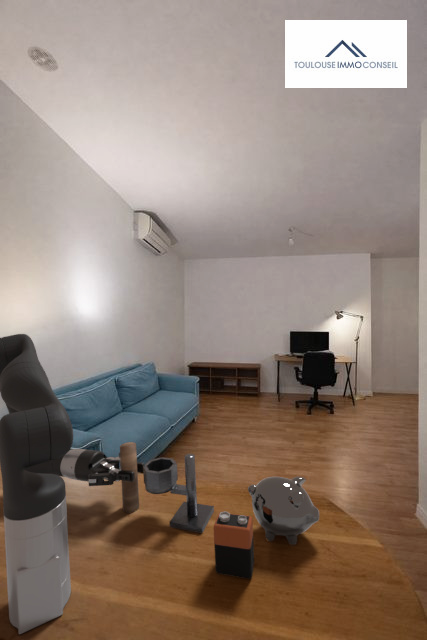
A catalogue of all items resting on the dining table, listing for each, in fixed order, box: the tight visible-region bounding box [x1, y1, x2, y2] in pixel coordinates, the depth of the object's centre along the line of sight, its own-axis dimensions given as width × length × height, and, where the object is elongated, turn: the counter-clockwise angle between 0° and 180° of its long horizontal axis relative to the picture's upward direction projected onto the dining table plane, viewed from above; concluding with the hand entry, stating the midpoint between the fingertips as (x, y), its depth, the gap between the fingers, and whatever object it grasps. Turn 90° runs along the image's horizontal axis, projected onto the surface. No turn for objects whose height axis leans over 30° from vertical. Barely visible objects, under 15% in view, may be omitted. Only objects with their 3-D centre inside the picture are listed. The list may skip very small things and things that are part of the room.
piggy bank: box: [247, 476, 320, 546], centre depth 66 cm, size 11×15×12 cm
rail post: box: [119, 441, 140, 514], centre depth 78 cm, size 4×4×16 cm
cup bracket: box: [142, 453, 215, 534], centre depth 74 cm, size 16×8×15 cm, turn 71°
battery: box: [213, 511, 255, 580], centre depth 58 cm, size 4×7×10 cm, turn 75°
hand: (138, 471), depth 77 cm, fingers closed on rail post, 4 cm apart
